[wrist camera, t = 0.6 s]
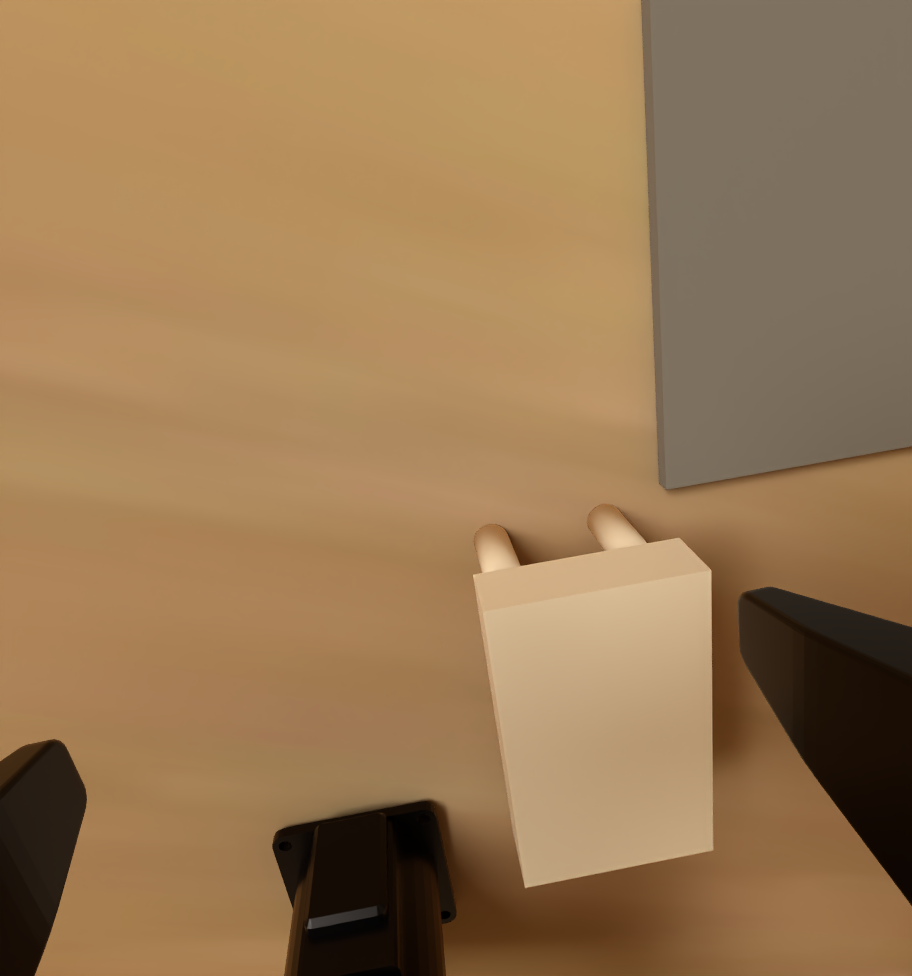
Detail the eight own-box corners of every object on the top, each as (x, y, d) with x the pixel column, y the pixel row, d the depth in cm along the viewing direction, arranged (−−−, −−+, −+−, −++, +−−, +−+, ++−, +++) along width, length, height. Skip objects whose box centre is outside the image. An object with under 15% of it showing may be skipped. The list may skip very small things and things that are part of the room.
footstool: (643, 720, 26) (713, 850, 21) (495, 748, 26) (524, 888, 20) (630, 488, 23) (711, 570, 17) (458, 518, 22) (482, 611, 17)
